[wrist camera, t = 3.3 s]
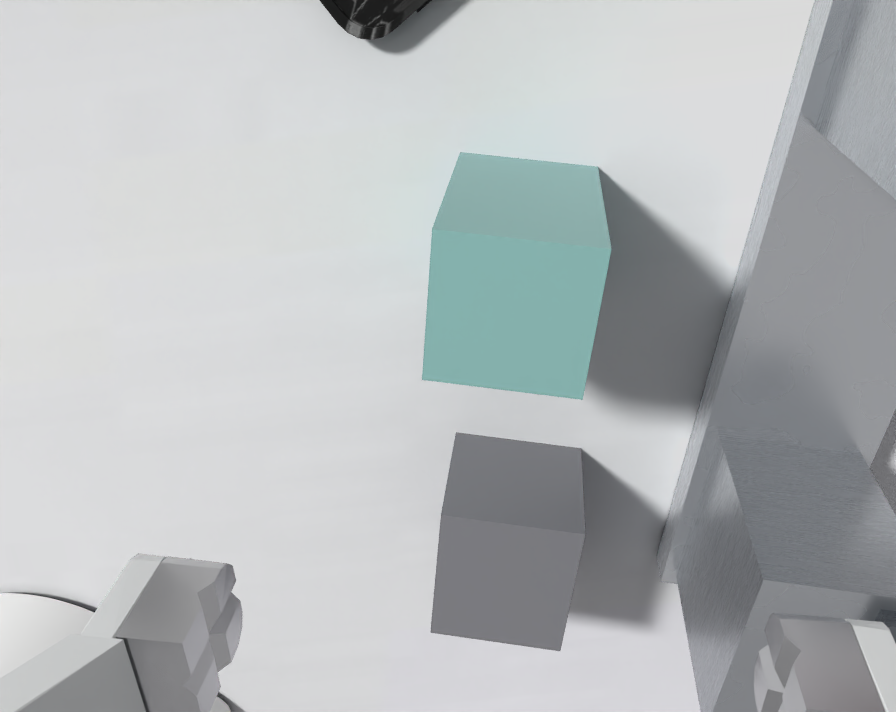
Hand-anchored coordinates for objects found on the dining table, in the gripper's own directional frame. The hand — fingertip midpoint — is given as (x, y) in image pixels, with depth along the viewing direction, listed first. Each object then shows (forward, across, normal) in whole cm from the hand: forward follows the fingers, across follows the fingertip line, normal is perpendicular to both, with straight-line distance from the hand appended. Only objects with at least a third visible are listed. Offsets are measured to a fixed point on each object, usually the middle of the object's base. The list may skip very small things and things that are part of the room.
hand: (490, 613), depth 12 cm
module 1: (+17, 0, 0) cm, 17 cm away
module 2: (+17, 0, +12) cm, 21 cm away
